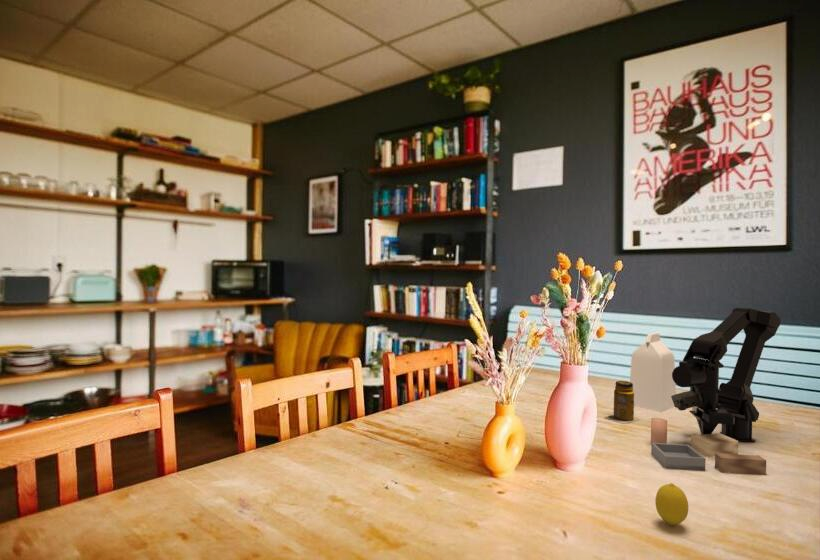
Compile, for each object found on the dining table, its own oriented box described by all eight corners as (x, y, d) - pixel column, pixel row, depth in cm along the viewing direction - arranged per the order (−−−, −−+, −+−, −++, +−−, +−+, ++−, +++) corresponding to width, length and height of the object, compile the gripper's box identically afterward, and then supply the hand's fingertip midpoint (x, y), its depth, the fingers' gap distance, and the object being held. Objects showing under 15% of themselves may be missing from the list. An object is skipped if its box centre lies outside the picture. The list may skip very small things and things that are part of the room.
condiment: (639, 419, 155) (640, 383, 155) (624, 424, 151) (624, 386, 150) (619, 414, 161) (619, 378, 161) (603, 418, 157) (604, 382, 156)
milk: (661, 412, 164) (662, 337, 163) (628, 404, 172) (629, 333, 172) (676, 406, 171) (677, 334, 170) (644, 399, 180) (645, 330, 179)
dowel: (663, 442, 135) (663, 418, 134) (669, 447, 131) (669, 422, 130) (648, 442, 135) (648, 417, 135) (653, 447, 131) (654, 422, 131)
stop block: (758, 469, 117) (758, 455, 117) (766, 474, 114) (766, 460, 114) (714, 467, 118) (715, 453, 118) (721, 472, 115) (721, 457, 115)
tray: (688, 456, 125) (688, 444, 125) (705, 470, 116) (705, 458, 116) (651, 454, 126) (651, 442, 126) (665, 468, 117) (665, 456, 117)
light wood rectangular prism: (719, 447, 132) (719, 433, 132) (738, 455, 126) (738, 440, 126) (691, 449, 130) (691, 435, 130) (708, 458, 124) (708, 443, 124)
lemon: (649, 518, 93) (649, 477, 93) (675, 517, 94) (676, 477, 94) (666, 533, 88) (667, 490, 88) (694, 532, 88) (695, 489, 88)
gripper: (662, 375, 143) (661, 426, 143) (690, 391, 124) (688, 450, 125) (702, 376, 141) (701, 429, 142) (736, 393, 123) (734, 452, 123)
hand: (705, 439), depth 133 cm, fingers closed
